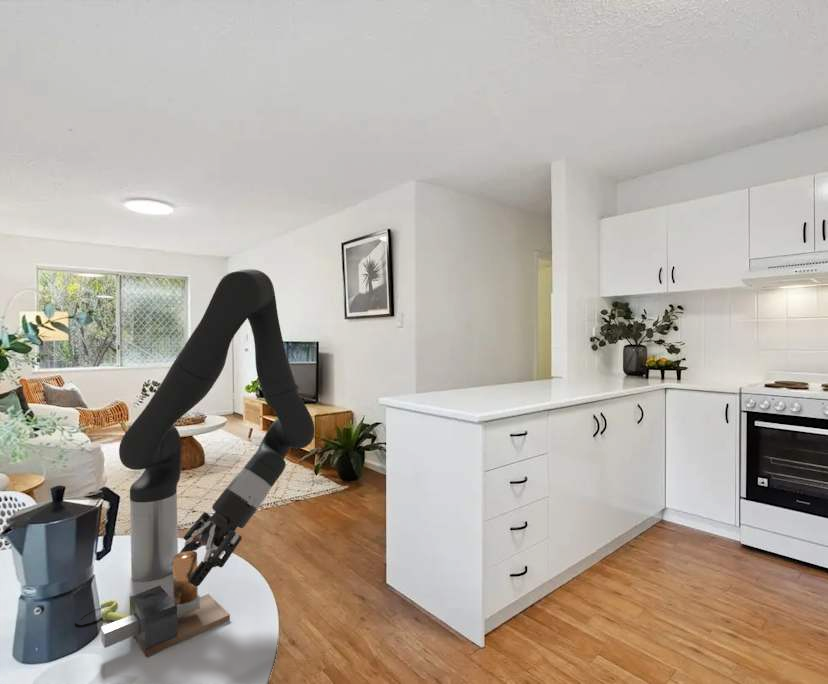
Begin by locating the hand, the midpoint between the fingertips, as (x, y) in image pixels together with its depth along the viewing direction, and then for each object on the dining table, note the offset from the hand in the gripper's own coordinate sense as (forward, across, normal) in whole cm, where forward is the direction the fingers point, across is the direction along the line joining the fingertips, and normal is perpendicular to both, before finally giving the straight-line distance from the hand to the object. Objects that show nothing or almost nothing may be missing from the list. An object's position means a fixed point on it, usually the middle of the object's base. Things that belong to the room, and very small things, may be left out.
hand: (183, 575), depth 85 cm
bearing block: (+10, 0, +3) cm, 10 cm away
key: (+14, -12, 0) cm, 18 cm away
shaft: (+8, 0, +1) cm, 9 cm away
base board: (+7, 0, +6) cm, 9 cm away
